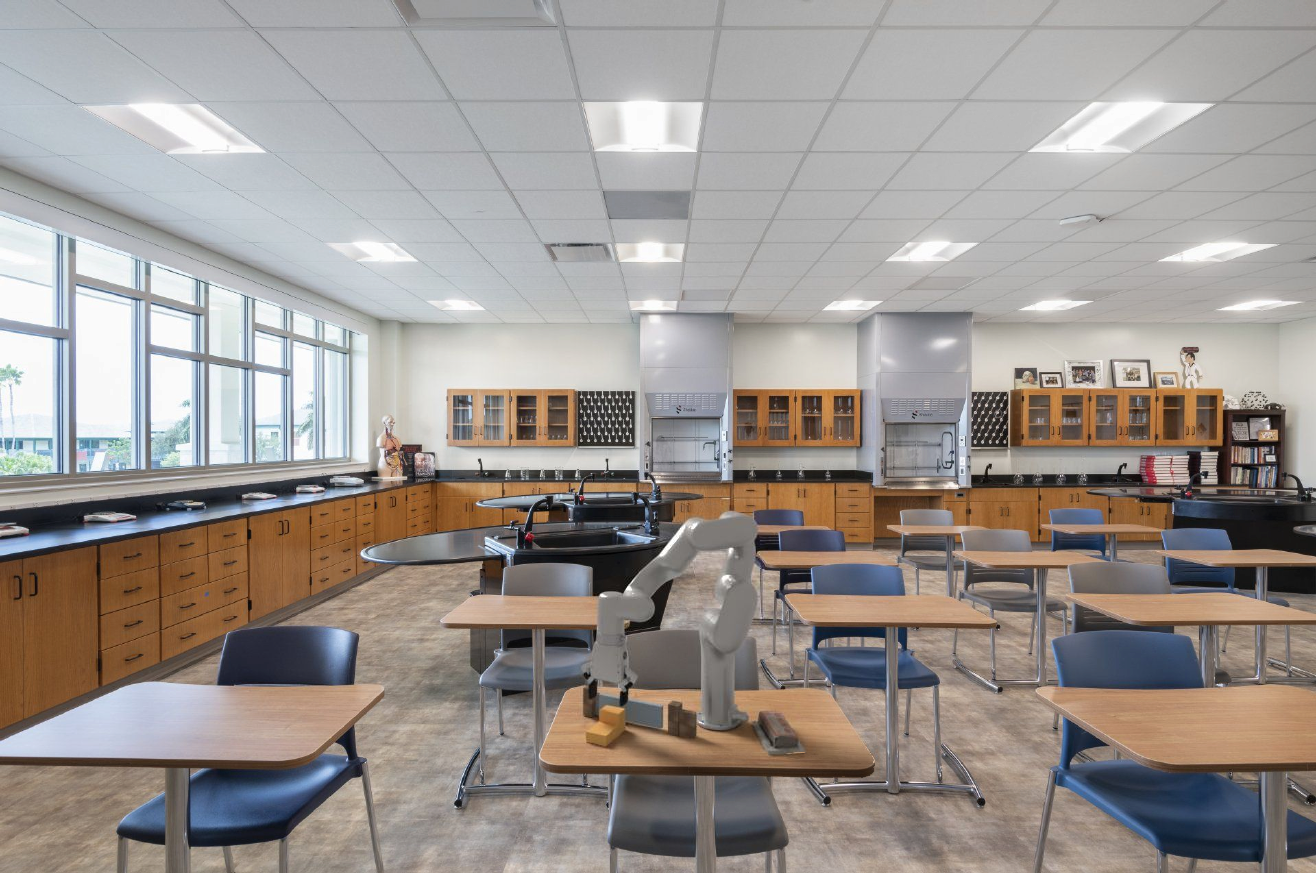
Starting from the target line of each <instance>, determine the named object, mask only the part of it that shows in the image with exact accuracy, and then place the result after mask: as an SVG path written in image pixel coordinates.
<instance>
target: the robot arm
mask: <svg viewBox="0 0 1316 873" xmlns="http://www.w3.org/2000/svg"><path fill="white" fill-rule="evenodd" d="M758 526H759V525H758V523H757V521H756V520H755V518H753V517H752V516H751V515H749V514H745V513H741V512H738V511H735V510H728V511H724V512H723V513H722V514H721V515H719V517H718V518H715V519H704V518H701V517H696V516H695V517H690V518H689V519H687V520H685V522H683V524H682V525H681V526H680V528H678V530H677V532H675V534H674V535H673V536H672V538H671V539H670V540H669V541H668V543H667V544H666V545H665V547H664V548H663V549H662V550H661V551H660V553H659V554H658V555H657V556H656V557H654V558H653V559H652V560H651V561H650V562H649V563H647V565H646V566H645V567H643V568H642V569H641V570H640V571H639V572H638V574H636V576H635V577H634V578H633V579H632V581H631V582H630V583H629V584H628V586H627V587H626V589H625V590H624V592H623V593H622V592H619V591H613V590H612V591H604V592H601V593H600V594H599V595H598V598H597V619H596V622H597V623H596V639H595V641H594V643H593V646H592V653H591V658H590V661H589V662H587V663H583V664H582V665H581V666H580V668H581V672H582V673H583V674H582V675H583V677H584V678H585V680H586V684H587V685H589V686H588V694H589V699H592V698H594V697H595V696H597V693H598V682H597V681H598V680H600V681H603V682H608V683H613V684H618V686H619V688H620V689H621V690H620V692H619V697H620V703H619V705H620V706H621V707H622V706H624V705H625V704H626V703H627V702H628V698H629V690H630V689H631V688H632V687H633V686H634V685H635V683H636V681H637V680H638V677H639V676H638V674H637V673H635V672H634V671H633V670H632V669H630V664H629V662H630V660H629V659H630V658H629V651H628V650H629V649H628V646H627V645H628V644H627V642H628V640H629V638H628V636H626V634H625V621H628V622H636V623H643V622H647V621H648V620H650V619H651V618H652V617H653V616H654V614H655V609H656V607H655V603H654V601H653V599H652V598H651V597H652V596H653V595H654V594H655V592H656V591H657V590H658V589H659V588H660V587H661V586H663V585H664V584H665V583H666V582H669V581H671V580H673V579H676V578H678V577H680V576H682V575H683V574H684V573H685V572H686V570H687V569H688V567H689V566H690V565H691V564H692V562H693V561H694V560H695V558H696V557H697V556H698V554H699V553H700V552H713V551H721V550H726V552H725V557H724V561H723V564H722V567H721V569H720V573H719V575H718V578H717V581H716V584H715V588H714V596H715V599H716V600H717V602H718V603H720V604H721V608H710V609H708V610H706V611H705V612H704V613H703V614H702V616H701V617H700V620H699V625H698V632H699V641H700V642H699V643H700V658H701V660H700V663H701V665H700V669H701V670H700V672H701V673H700V690H701V691H700V698H701V699H700V711H699V712H697V725H699V727H701V728H703V729H706V730H707V729H708V730H710V731H711V730H713V731H729V730H732V729H735V728H737V727H738V726H739V725H740V723H749V719H750V718H749V717H750V716H749V715H748V712H747V711H741V710H740V709H738V708H739V706H738V704H735V667H736V666H735V664H736V662H735V660H736V659H735V653H736V652H738V651H739V650H740V649H741V648H742V647H743V646H744V644H745V642H746V641H747V640H746V639H747V637H748V635H749V632H750V628H751V626H752V622H753V620H754V618H755V614H756V611H757V607H758V599H759V597H758V590H757V589H756V587H755V586H754V585H753V583H752V582H751V581H750V580H751V576H752V573H753V569H754V566H755V562H756V557H757V555H756V554H757V553H756V551H757V550H756V549H757V548H756V544H755V540H756V539H757V537H758V536H757V535H758V534H759V527H758ZM589 668H590V671H589ZM628 678H630V680H629V681H628V680H627V679H628Z"/></svg>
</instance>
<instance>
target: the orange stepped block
mask: <svg viewBox="0 0 1316 873" xmlns="http://www.w3.org/2000/svg"><path fill="white" fill-rule="evenodd" d="M598 717H599V718H598V719H599V720H598V722H596V723H595V724H593V725H592V726H591V727H590V728H589V729H588V730H586V731H585V742H586V741H587V742H590V743H589V744H591V743H595V744H594V745H596V744H598V745H597V746H600V745H601V747H608V745H609V743H610V744H611V743H612V742H613V741H614V740H615V739H617V738H618V737H620V735H622V733H623V732H624V731H626V721H625V709H624V708H619V707H614V706H609V705H606V706H604V707H603V708H602V709H600V710H599V715H598ZM587 742H586V743H587Z"/></svg>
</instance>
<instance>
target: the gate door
mask: <svg viewBox="0 0 1316 873" xmlns="http://www.w3.org/2000/svg"><path fill="white" fill-rule="evenodd" d="M619 703H620V696H617V695H612V694H607V693H602V692H601V693H600V692H597V696H596V715H595V716H599V710H600V709H602V708H603V707H604V706H606V705H609V706H614V707H619V708H624V709H625V722H627V723H631V724H632V723H633V724H637V725H641V726H647V727H651V728H656V729H663V728H664V705H662V704H659V703H653V702H647V701H642V700H638V699H633V698H629V697H628V702H627V703H626V704H625V705H624V706H622V707H621V706H620V705H619Z"/></svg>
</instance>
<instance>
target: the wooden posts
mask: <svg viewBox="0 0 1316 873" xmlns="http://www.w3.org/2000/svg"><path fill="white" fill-rule="evenodd" d="M588 686H589V684H587V685H586V686H584V687H583V689H582V716H583V715H585V716H584V717H587V716H588V717H587V718H591V717H592V718H593V717H594V715H595V716H597V715H596V696H595V697H594V698H592V699H589V694H588ZM697 713H698V712H697V711H694V710H690V709H683V701H676V700H671V701H670V702H669V703H668V704H667V735H671V736H675V737H679V736H682V737H685V738H690V739H696V737H698V736H697V733H698V732H697V726H698V724H697Z"/></svg>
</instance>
